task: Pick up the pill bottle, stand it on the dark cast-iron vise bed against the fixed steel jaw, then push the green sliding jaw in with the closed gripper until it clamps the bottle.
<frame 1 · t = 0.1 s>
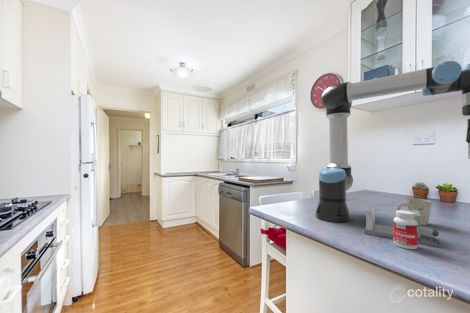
pill bottle: (405, 246, 68), on the counter
vise base: (398, 235, 77), on the counter
mug: (413, 223, 92), on the counter
sliding jaw: (425, 224, 73), point 5 cm above the counter, slide at 0.0 cm
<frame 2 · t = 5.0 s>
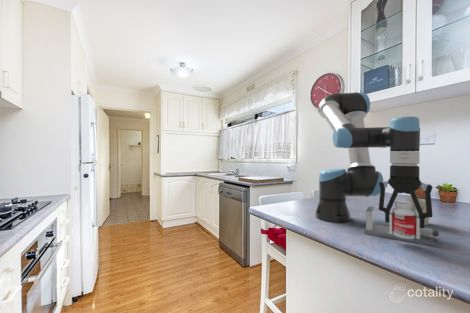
hand: (403, 234, 69), 3 cm above the counter, fingers closed on pill bottle, 6 cm apart
pill bottle: (403, 236, 69), point 3 cm above the counter, touching gripper
everything else where it was.
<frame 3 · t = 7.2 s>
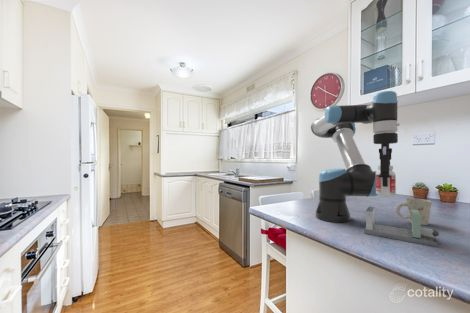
hand: (385, 193, 80), 15 cm above the counter, fingers closed on pill bottle, 6 cm apart
pill bottle: (385, 195, 80), point 14 cm above the counter, touching gripper
everything else where it was.
when the fingers open (3 cm above the counter, at t = 9.5 s): pill bottle drops 1 cm, resting on vise base.
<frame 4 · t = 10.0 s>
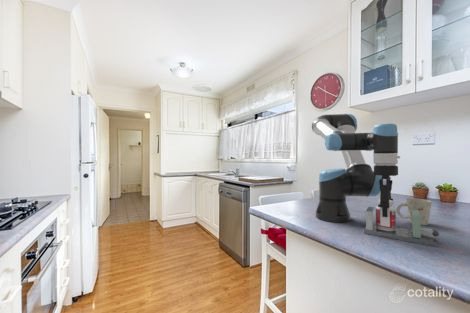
hand: (386, 221, 80), 5 cm above the counter, fingers open, 12 cm apart
pill bottle: (385, 229, 80), point 1 cm above the counter, touching vise base
everything else where it was.
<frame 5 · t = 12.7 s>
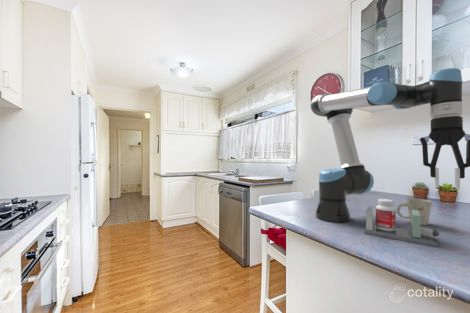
hand: (447, 187, 70), 19 cm above the counter, fingers open, 4 cm apart
nothing on the counter moved.
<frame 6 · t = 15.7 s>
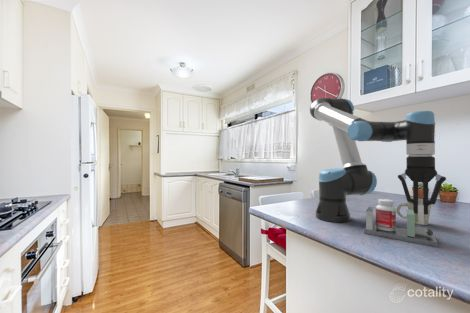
hand: (420, 223, 74), 6 cm above the counter, fingers closed
sliding jaw: (419, 223, 74), point 5 cm above the counter, slide at 1.4 cm, touching gripper
everything else where it was.
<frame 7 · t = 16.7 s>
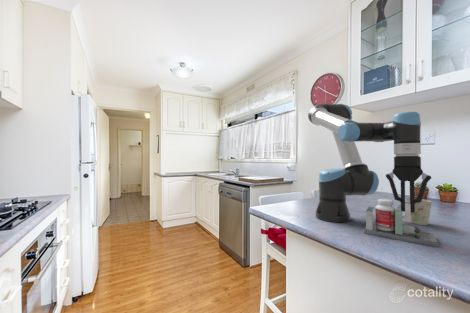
hand: (407, 220, 76), 6 cm above the counter, fingers closed
sliding jaw: (407, 222, 76), point 5 cm above the counter, slide at 4.7 cm
everything else where it was.
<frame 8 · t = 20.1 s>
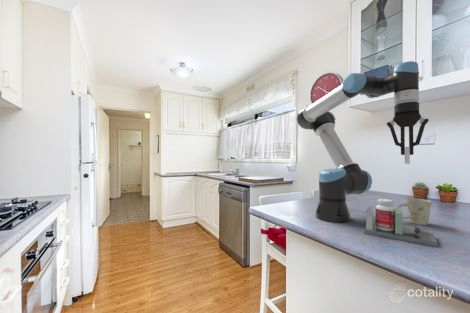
hand: (407, 163, 82), 26 cm above the counter, fingers closed
nothing on the counter moved.
at the end: pill bottle inside the target area on the vise base (0.3 cm from its centre), point 1.3 cm above the vise base's base; pill bottle tilted 0°; sliding jaw slide at 4.7 cm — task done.
